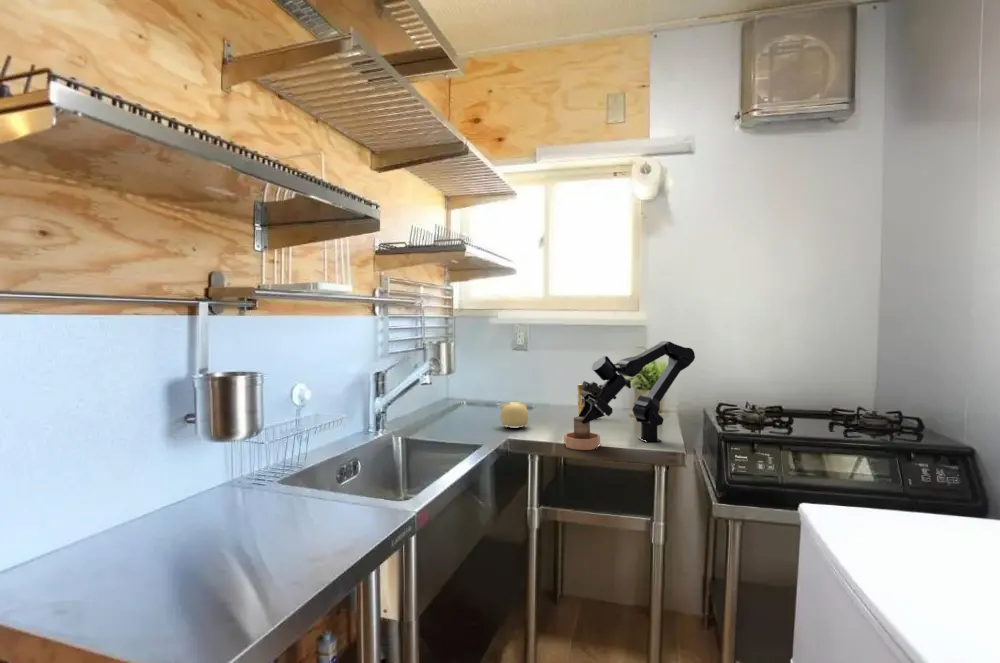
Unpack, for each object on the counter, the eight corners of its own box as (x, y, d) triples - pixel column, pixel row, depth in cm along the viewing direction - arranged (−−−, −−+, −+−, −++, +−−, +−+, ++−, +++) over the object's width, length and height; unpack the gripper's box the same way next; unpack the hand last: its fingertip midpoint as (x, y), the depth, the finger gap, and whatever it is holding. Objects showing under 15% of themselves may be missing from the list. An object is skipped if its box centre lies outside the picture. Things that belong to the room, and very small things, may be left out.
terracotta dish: (603, 449, 175) (603, 438, 175) (569, 450, 174) (569, 440, 174) (593, 441, 187) (593, 431, 187) (561, 442, 186) (561, 432, 186)
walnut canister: (592, 442, 178) (591, 419, 178) (576, 443, 178) (576, 419, 177) (587, 438, 184) (587, 416, 183) (572, 439, 183) (572, 416, 183)
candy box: (578, 419, 229) (578, 384, 229) (577, 417, 233) (577, 383, 233) (598, 419, 229) (598, 384, 228) (597, 417, 233) (597, 383, 232)
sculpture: (526, 424, 219) (526, 399, 219) (530, 430, 207) (530, 403, 207) (499, 425, 218) (499, 399, 218) (501, 431, 206) (501, 404, 206)
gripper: (587, 370, 190) (558, 401, 189) (602, 375, 171) (570, 410, 170) (608, 391, 191) (579, 422, 190) (626, 398, 172) (594, 433, 171)
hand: (580, 421), depth 180 cm, fingers open, 6 cm apart
